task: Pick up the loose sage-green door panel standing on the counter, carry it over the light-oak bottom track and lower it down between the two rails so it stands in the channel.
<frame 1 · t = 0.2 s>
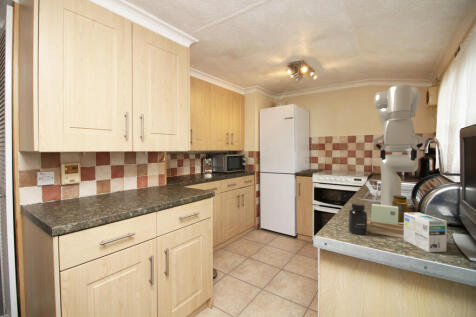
hand: (397, 160, 88), 30 cm above the countertop, tool pointing down, fingers open, 9 cm apart
bottom track: (386, 232, 92), on the countertop
door panel: (384, 225, 101), on the countertop
light bulb box: (423, 246, 80), on the countertop
supplement bottle: (357, 232, 93), on the countertop
condiment: (398, 221, 107), on the countertop
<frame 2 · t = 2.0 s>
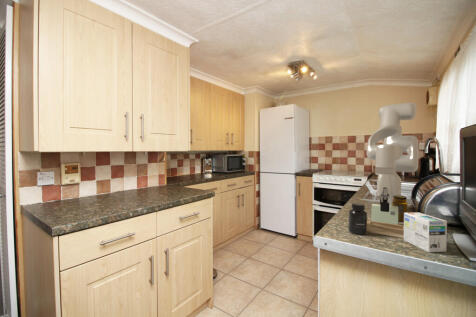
hand: (384, 209, 100), 8 cm above the countertop, tool pointing down, fingers open, 9 cm apart
nothing on the countertop moved.
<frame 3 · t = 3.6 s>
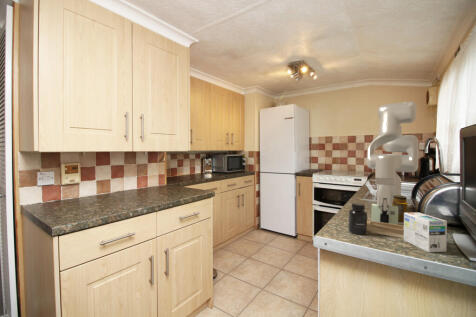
hand: (384, 221, 101), 2 cm above the countertop, tool pointing down, fingers closed on door panel, 3 cm apart
door panel: (384, 225, 101), on the countertop, touching gripper
everything else where it was.
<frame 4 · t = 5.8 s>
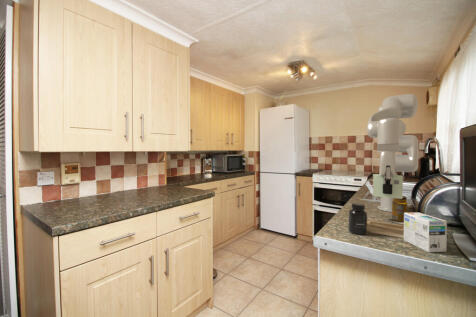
hand: (387, 192, 92), 17 cm above the countertop, tool pointing down, fingers closed on door panel, 3 cm apart
door panel: (387, 196, 92), point 15 cm above the countertop, touching gripper
everything else where it was.
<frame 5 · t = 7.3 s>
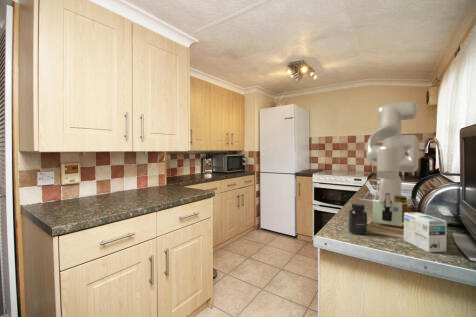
hand: (386, 219, 92), 6 cm above the countertop, tool pointing down, fingers closed on door panel, 3 cm apart
door panel: (386, 223, 92), point 4 cm above the countertop, touching gripper
everything else where it was.
when the fingers open (4 cm above the countertop, at t = 8.3 s): door panel stays where it is, resting on bottom track.
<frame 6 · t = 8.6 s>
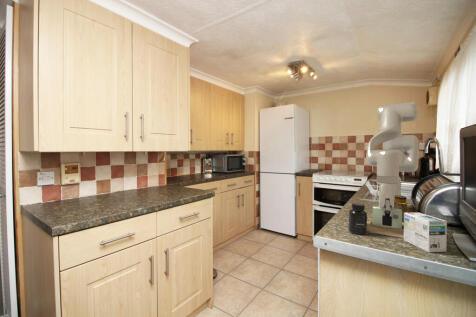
hand: (386, 222, 92), 4 cm above the countertop, tool pointing down, fingers open, 6 cm apart
door panel: (386, 230, 92), point 1 cm above the countertop, touching bottom track
everything else where it was.
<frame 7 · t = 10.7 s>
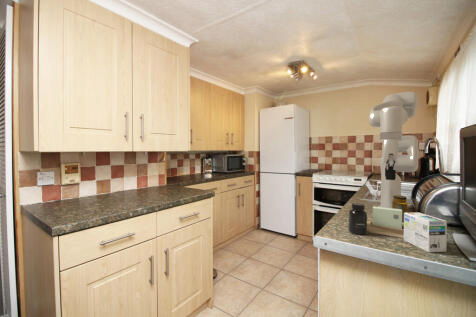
hand: (389, 178, 92), 23 cm above the countertop, tool pointing down, fingers open, 9 cm apart
nothing on the countertop moved.
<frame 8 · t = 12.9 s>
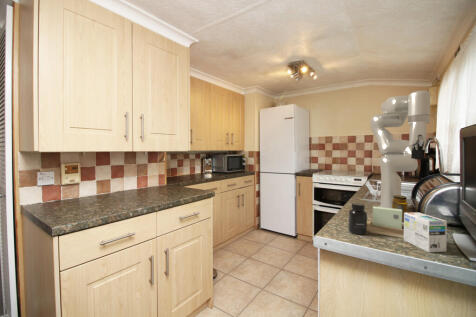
hand: (417, 159, 98), 30 cm above the countertop, tool pointing down, fingers open, 9 cm apart
nothing on the countertop moved.
at the end: door panel inside the target area on the bottom track (0.1 cm from its centre), point 1.0 cm above the bottom track's base; door panel tilted 0°; the gripper is holding nothing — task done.
